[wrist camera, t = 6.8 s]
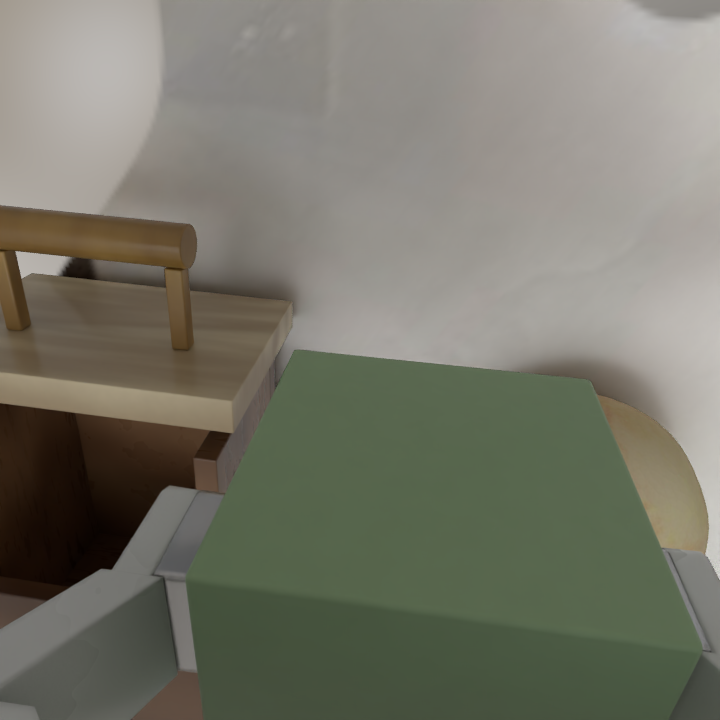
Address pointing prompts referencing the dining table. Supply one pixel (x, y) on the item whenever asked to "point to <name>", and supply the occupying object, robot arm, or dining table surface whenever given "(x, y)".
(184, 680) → the cabinet
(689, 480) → the apple
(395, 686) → the block
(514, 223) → the dining table surface
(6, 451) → the drawer
